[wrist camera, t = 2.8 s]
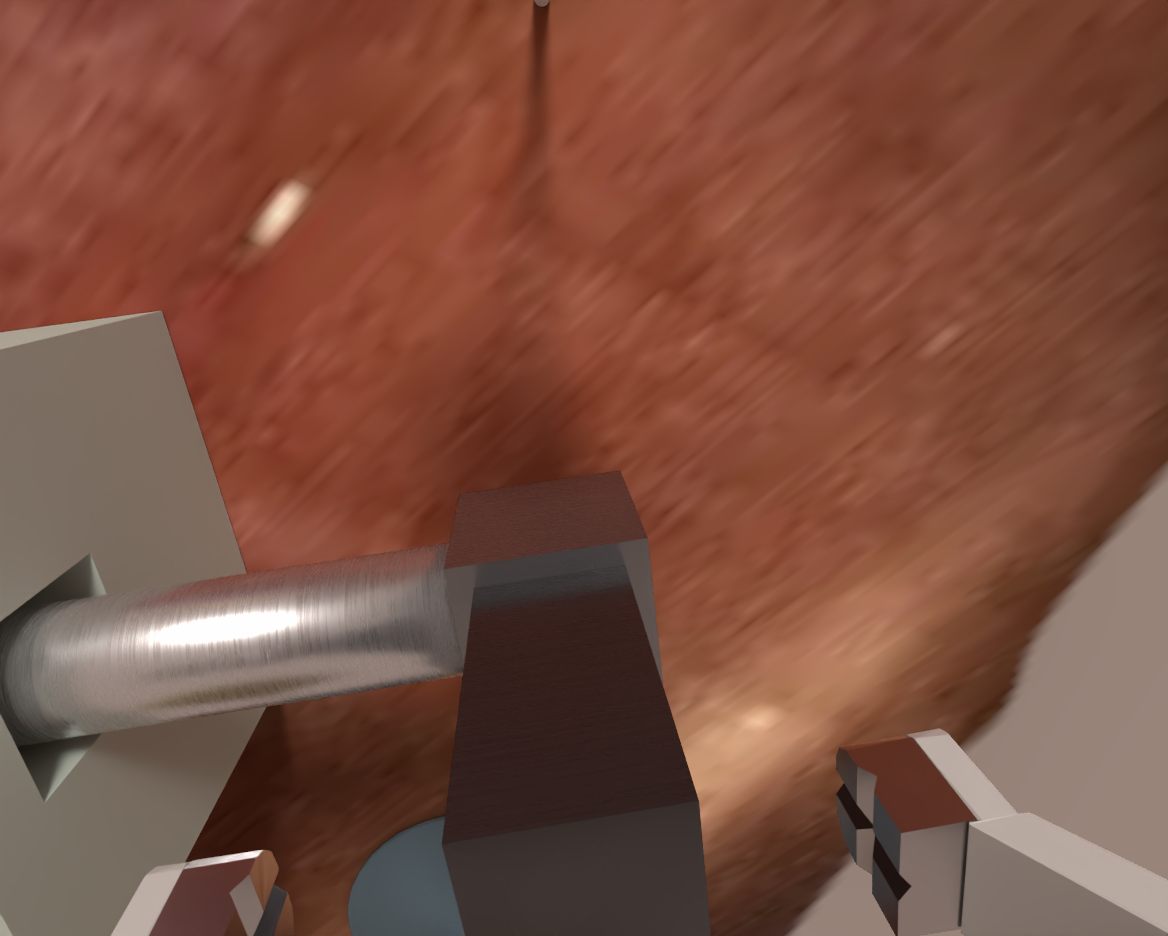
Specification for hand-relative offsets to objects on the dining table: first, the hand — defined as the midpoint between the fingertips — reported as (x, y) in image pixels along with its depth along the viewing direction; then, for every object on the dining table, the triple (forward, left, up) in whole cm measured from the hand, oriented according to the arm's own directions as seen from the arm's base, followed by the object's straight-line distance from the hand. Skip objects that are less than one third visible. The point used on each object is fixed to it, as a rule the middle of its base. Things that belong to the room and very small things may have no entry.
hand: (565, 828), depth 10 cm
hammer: (+10, 0, -8) cm, 13 cm away
